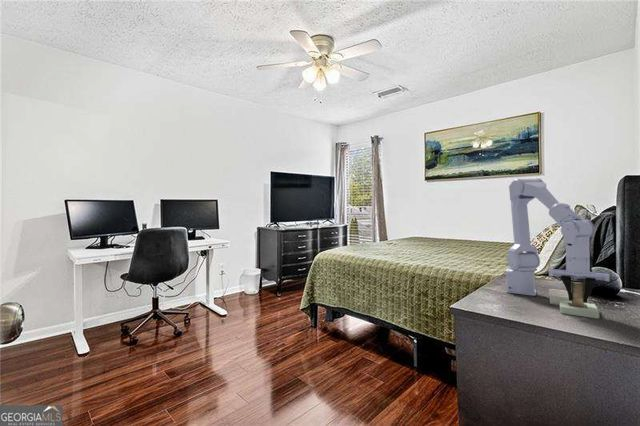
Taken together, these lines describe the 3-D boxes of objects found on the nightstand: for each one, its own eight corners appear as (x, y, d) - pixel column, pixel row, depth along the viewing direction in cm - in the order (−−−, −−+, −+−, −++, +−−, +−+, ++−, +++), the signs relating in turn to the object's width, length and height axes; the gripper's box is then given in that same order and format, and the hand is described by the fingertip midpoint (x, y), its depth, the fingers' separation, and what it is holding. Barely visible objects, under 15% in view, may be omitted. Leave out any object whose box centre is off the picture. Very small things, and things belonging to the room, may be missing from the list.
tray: (549, 303, 105) (549, 295, 105) (549, 296, 114) (549, 288, 114) (588, 309, 100) (588, 299, 100) (584, 301, 108) (584, 292, 108)
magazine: (578, 290, 115) (579, 252, 120) (580, 298, 124) (581, 263, 129) (591, 292, 113) (592, 253, 117) (592, 300, 122) (593, 263, 126)
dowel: (572, 312, 97) (571, 283, 97) (571, 309, 99) (571, 281, 99) (584, 313, 95) (584, 284, 95) (583, 311, 98) (583, 282, 98)
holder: (560, 313, 96) (560, 306, 96) (559, 305, 104) (559, 299, 104) (599, 318, 91) (599, 311, 91) (594, 310, 98) (594, 304, 98)
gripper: (549, 257, 98) (549, 300, 98) (611, 261, 90) (611, 308, 90) (548, 255, 104) (549, 295, 104) (607, 258, 95) (607, 302, 95)
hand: (577, 300), depth 97 cm, fingers closed on dowel, 3 cm apart
